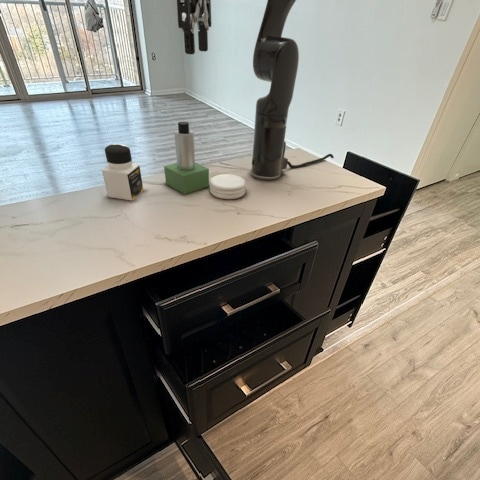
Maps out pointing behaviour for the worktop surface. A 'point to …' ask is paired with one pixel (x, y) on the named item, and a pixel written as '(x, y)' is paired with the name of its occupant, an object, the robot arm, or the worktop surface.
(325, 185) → the worktop surface
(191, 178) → the block
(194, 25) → the robot arm
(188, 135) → the flask
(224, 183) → the white short cylinder
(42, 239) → the worktop surface
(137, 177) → the medicine bottle
